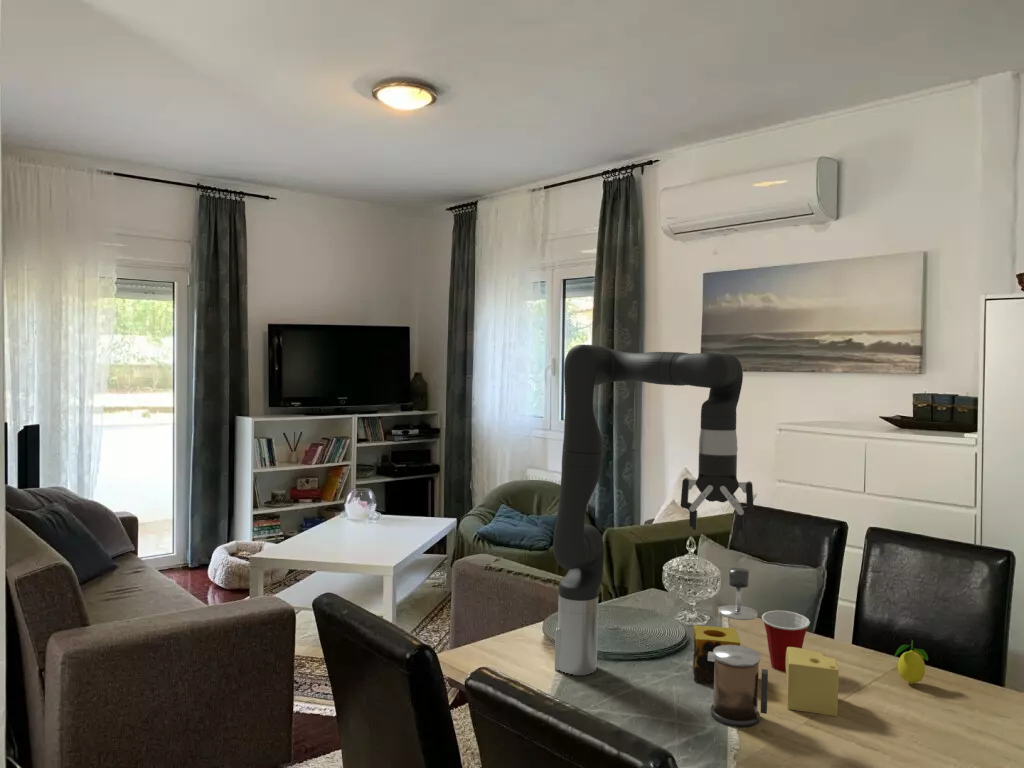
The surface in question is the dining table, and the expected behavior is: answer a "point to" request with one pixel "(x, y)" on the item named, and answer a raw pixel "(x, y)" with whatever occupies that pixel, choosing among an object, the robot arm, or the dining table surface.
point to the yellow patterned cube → (709, 649)
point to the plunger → (738, 597)
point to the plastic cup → (783, 634)
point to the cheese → (811, 681)
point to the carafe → (737, 686)
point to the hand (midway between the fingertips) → (716, 531)
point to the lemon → (911, 664)
